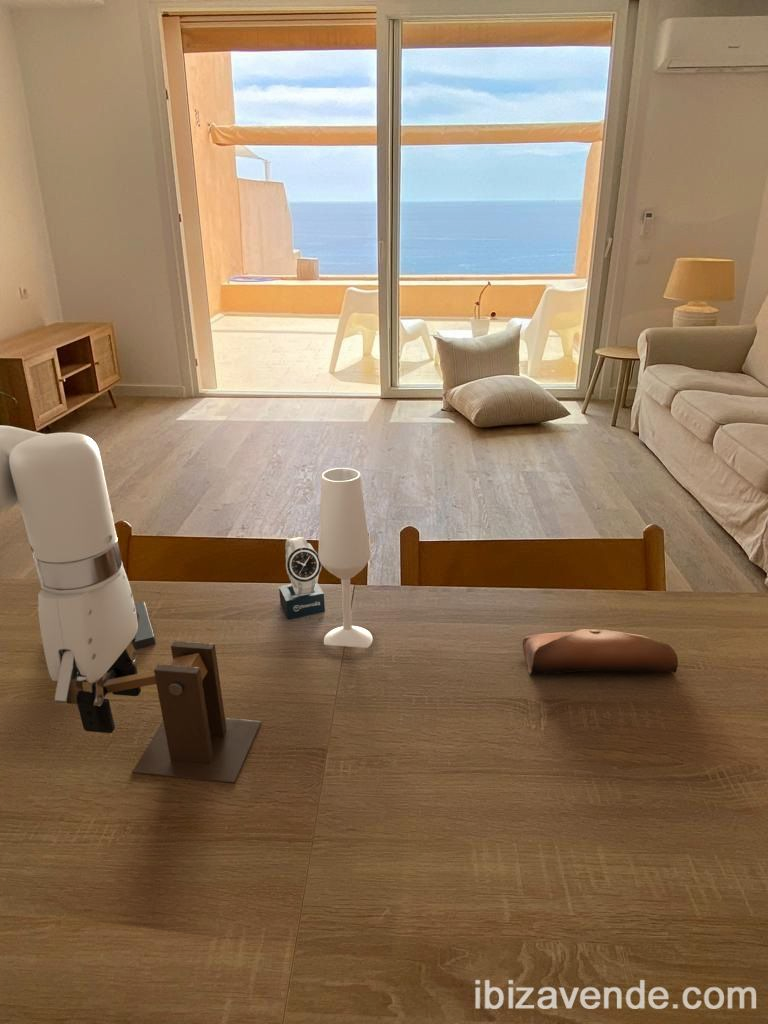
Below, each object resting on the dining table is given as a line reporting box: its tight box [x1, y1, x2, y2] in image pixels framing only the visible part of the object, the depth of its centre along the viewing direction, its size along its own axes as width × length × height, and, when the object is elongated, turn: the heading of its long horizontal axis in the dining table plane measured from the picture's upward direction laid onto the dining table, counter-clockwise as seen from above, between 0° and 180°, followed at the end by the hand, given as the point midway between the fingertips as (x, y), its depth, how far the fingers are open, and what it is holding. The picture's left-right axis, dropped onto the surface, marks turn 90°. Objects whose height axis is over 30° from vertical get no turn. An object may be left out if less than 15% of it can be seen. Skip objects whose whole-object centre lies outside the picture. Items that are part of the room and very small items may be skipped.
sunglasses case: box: [522, 628, 679, 675], centre depth 88 cm, size 18×7×7 cm
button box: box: [134, 600, 157, 651], centre depth 94 cm, size 12×10×4 cm
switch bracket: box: [131, 640, 262, 784], centre depth 72 cm, size 11×9×13 cm
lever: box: [103, 653, 208, 698], centre depth 72 cm, size 12×5×2 cm, turn 81°
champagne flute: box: [317, 467, 374, 649], centre depth 89 cm, size 7×7×24 cm
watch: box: [278, 536, 326, 621], centre depth 99 cm, size 6×8×11 cm
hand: (113, 710), depth 74 cm, fingers closed on lever, 5 cm apart
